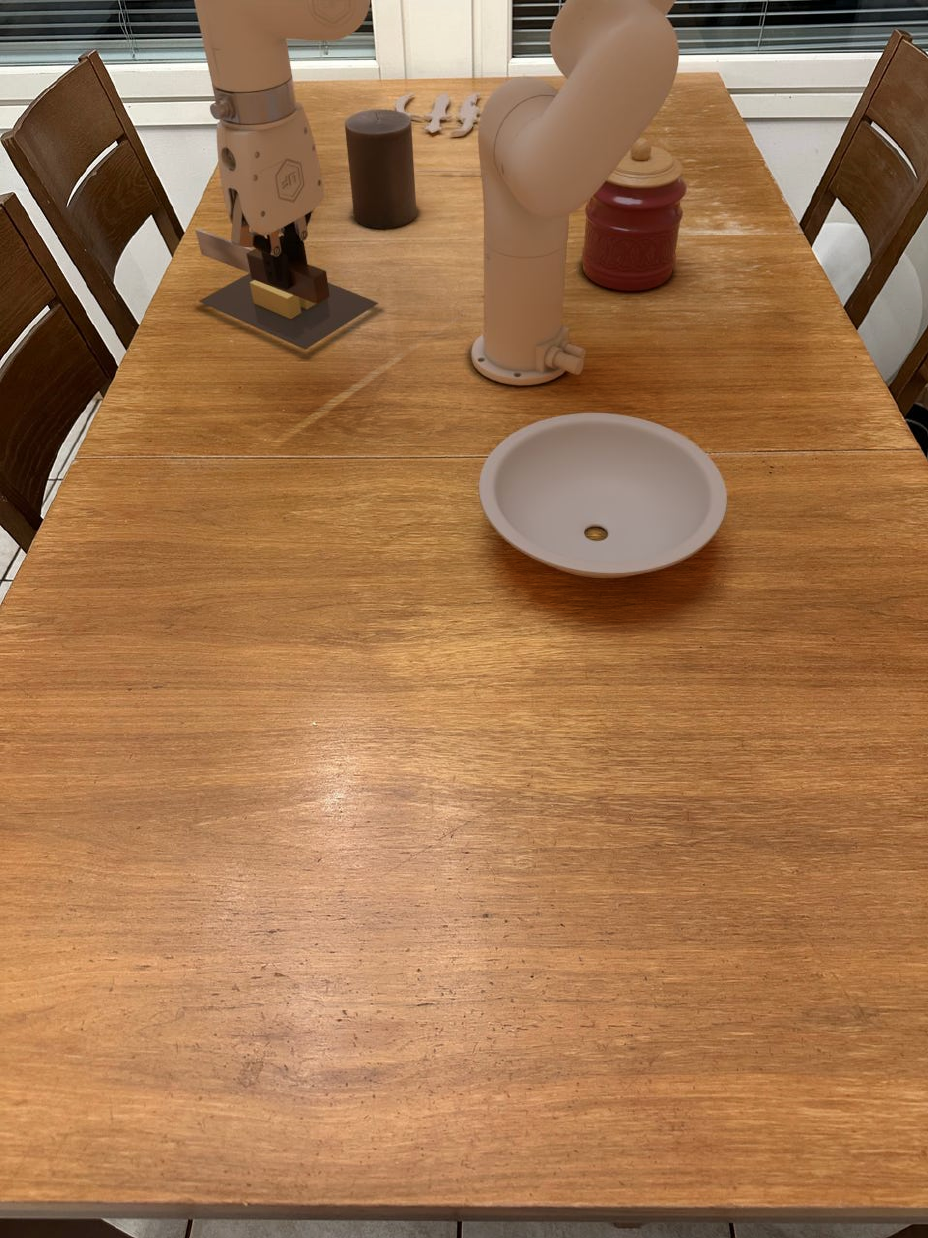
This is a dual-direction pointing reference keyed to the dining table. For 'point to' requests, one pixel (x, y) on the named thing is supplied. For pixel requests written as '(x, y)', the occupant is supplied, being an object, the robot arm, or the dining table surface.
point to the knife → (303, 276)
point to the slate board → (295, 330)
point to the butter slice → (275, 299)
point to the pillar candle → (381, 168)
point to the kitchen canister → (635, 221)
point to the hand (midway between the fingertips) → (288, 278)
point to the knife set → (445, 116)
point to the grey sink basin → (602, 494)
